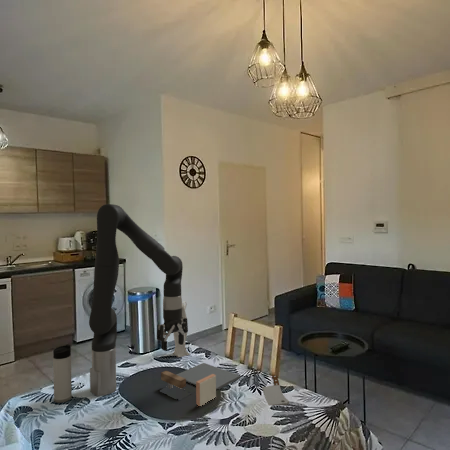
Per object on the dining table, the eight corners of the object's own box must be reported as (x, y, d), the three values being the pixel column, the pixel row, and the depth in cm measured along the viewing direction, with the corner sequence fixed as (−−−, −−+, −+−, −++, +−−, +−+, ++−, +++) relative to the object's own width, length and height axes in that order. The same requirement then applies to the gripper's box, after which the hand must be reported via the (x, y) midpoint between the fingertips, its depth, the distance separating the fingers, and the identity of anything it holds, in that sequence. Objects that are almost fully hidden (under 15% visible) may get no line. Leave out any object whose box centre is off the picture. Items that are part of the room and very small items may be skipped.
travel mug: (76, 396, 142) (75, 345, 142) (62, 404, 136) (61, 351, 136) (64, 393, 145) (63, 343, 144) (50, 401, 139) (49, 349, 138)
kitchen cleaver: (258, 375, 158) (281, 374, 158) (258, 377, 158) (281, 376, 158) (262, 405, 134) (289, 403, 134) (262, 407, 134) (290, 406, 134)
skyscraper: (192, 355, 184) (191, 300, 183) (177, 359, 179) (177, 303, 179) (184, 350, 191) (183, 297, 190) (170, 354, 186) (169, 299, 186)
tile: (199, 407, 133) (199, 383, 133) (196, 405, 134) (196, 381, 134) (216, 398, 140) (216, 375, 140) (212, 396, 141) (212, 373, 141)
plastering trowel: (156, 391, 146) (156, 374, 146) (170, 384, 152) (170, 368, 152) (178, 401, 138) (178, 383, 138) (191, 394, 143) (191, 377, 143)
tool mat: (211, 393, 144) (211, 390, 144) (174, 377, 158) (174, 375, 158) (240, 378, 157) (240, 375, 157) (203, 364, 172) (203, 362, 172)
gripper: (179, 302, 152) (179, 340, 153) (152, 308, 142) (152, 350, 142) (192, 304, 147) (192, 344, 148) (164, 311, 137) (165, 354, 137)
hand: (172, 347), depth 145 cm, fingers open, 8 cm apart
